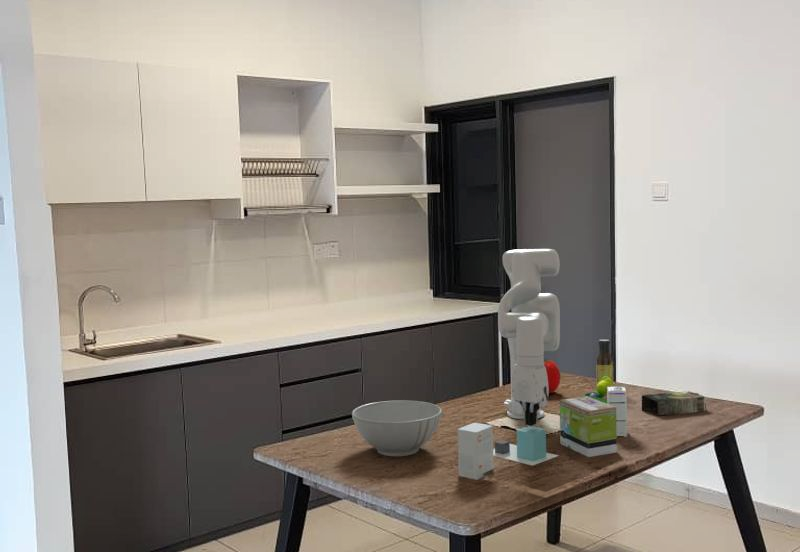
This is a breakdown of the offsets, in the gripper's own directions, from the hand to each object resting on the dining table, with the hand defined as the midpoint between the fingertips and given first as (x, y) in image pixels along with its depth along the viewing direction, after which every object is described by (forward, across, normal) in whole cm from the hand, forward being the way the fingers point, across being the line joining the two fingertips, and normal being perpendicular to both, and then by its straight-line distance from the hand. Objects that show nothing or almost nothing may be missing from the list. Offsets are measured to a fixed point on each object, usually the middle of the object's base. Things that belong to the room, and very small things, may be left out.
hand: (531, 424), depth 237 cm
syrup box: (+11, +4, +38) cm, 40 cm away
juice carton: (+12, +2, +76) cm, 77 cm away
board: (+10, -4, -1) cm, 11 cm away
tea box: (+11, +7, +17) cm, 21 cm away
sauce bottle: (+12, -32, +85) cm, 92 cm away
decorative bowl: (+11, -36, -19) cm, 42 cm away
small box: (+10, -4, -20) cm, 22 cm away
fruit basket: (+12, -18, +62) cm, 66 cm away
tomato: (+12, -48, +69) cm, 85 cm away
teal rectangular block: (+9, 0, -1) cm, 9 cm away
